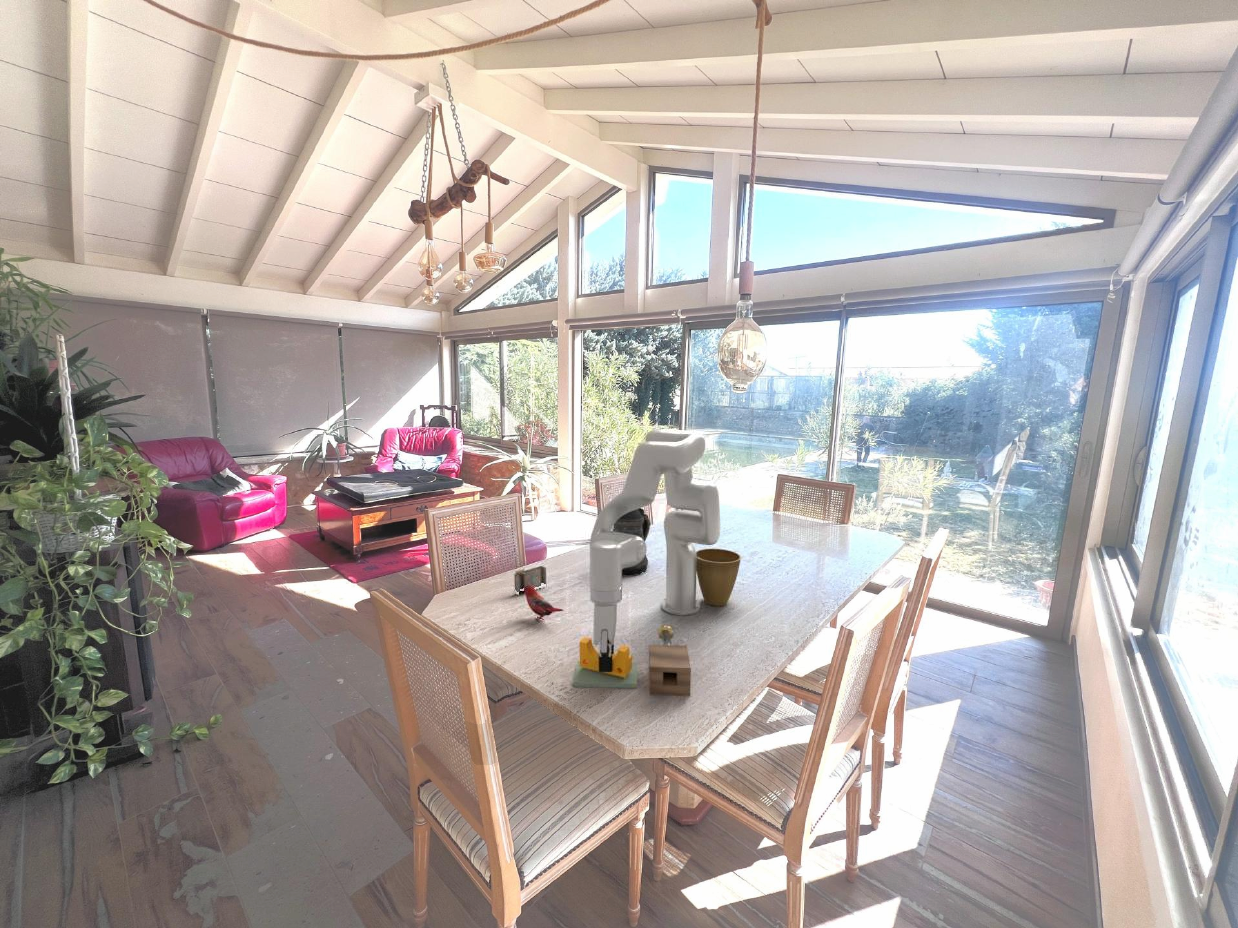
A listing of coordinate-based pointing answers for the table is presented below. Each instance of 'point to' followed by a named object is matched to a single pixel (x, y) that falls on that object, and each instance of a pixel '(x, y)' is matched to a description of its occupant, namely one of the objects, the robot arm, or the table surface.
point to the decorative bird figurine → (538, 603)
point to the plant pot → (717, 574)
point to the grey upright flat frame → (530, 577)
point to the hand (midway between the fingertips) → (606, 663)
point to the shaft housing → (669, 670)
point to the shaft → (665, 634)
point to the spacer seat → (604, 678)
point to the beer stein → (637, 526)
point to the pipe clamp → (591, 658)
